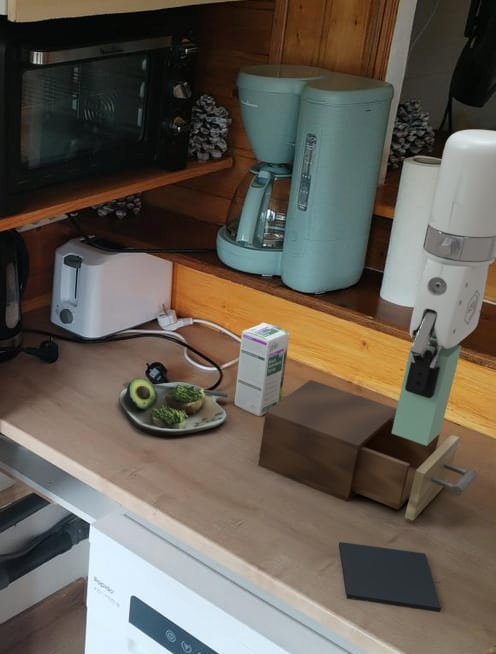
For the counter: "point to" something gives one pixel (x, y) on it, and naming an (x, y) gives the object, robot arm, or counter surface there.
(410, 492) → the drawer
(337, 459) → the cabinet
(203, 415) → the avocado toast plate
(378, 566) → the slate mat
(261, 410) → the syrup box
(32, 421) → the counter surface
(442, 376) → the block
